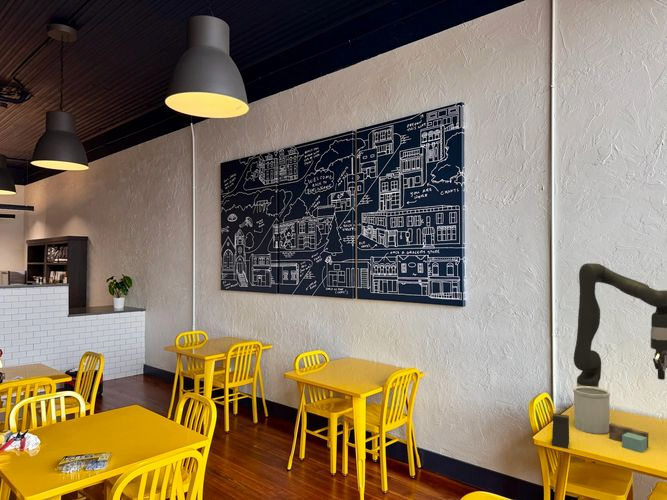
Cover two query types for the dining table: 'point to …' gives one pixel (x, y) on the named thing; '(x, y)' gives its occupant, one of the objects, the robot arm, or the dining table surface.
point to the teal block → (634, 442)
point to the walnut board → (623, 432)
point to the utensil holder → (591, 409)
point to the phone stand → (560, 431)
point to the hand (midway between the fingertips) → (661, 379)
